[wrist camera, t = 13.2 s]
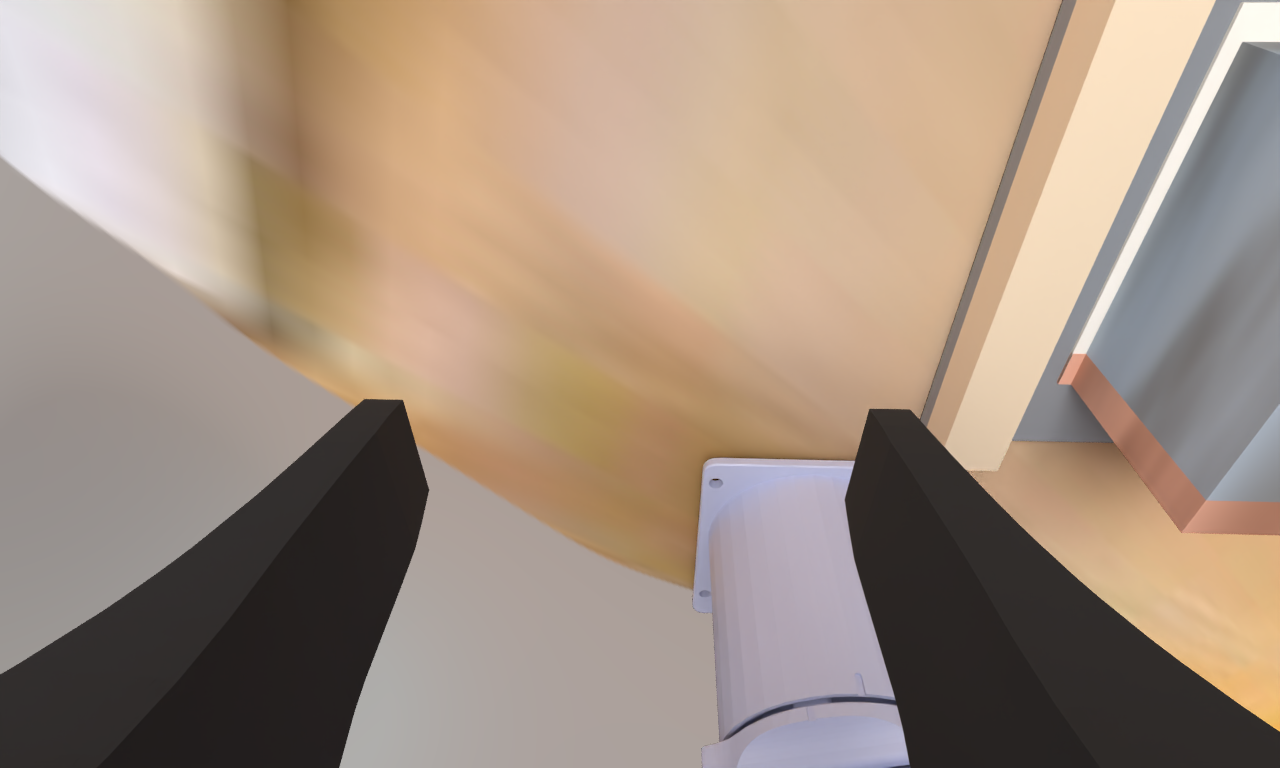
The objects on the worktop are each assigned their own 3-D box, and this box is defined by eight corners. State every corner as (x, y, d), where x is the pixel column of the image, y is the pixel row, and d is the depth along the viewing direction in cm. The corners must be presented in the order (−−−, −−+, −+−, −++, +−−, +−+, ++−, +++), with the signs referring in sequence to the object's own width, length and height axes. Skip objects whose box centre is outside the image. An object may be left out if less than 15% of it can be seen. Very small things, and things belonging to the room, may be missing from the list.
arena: (1294, 435, 24) (1341, 478, 22) (917, 427, 24) (935, 469, 22) (1823, -214, 13) (1989, -223, 11) (1133, -210, 13) (1198, -219, 12)
